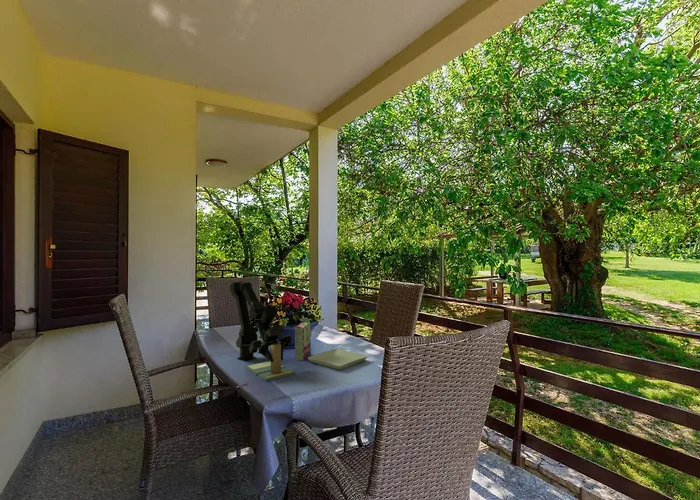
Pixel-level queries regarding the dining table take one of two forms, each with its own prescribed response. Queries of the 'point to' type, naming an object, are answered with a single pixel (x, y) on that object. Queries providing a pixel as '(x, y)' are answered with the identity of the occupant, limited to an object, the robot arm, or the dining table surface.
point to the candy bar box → (302, 341)
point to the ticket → (260, 368)
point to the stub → (276, 365)
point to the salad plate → (337, 358)
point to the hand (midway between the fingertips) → (277, 360)
